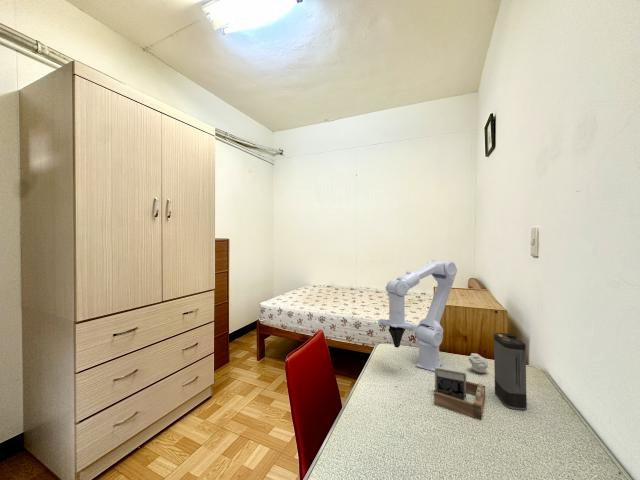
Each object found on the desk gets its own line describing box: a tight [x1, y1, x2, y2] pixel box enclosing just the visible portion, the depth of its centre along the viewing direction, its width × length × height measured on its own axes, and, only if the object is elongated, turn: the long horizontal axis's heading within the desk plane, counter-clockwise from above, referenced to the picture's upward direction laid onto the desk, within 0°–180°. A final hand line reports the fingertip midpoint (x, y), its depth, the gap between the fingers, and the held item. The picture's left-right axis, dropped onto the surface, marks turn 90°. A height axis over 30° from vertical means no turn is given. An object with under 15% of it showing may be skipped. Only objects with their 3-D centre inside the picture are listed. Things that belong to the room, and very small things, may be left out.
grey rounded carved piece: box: [467, 352, 489, 374], centre depth 101 cm, size 6×7×7 cm
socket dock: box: [433, 380, 486, 421], centre depth 83 cm, size 14×12×6 cm
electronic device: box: [493, 332, 528, 411], centre depth 83 cm, size 9×6×20 cm, turn 168°
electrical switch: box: [434, 366, 467, 401], centre depth 85 cm, size 9×5×9 cm, turn 65°
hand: (397, 346), depth 100 cm, fingers closed
